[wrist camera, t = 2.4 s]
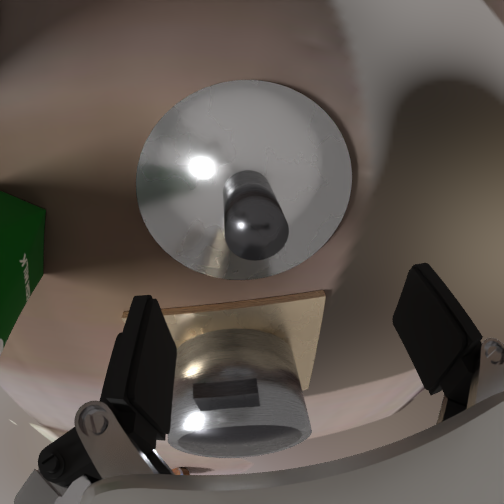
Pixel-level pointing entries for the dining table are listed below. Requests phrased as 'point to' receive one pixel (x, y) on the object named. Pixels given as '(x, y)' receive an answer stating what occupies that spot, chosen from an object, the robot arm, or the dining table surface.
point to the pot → (243, 374)
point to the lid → (243, 180)
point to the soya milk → (18, 258)
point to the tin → (180, 471)
